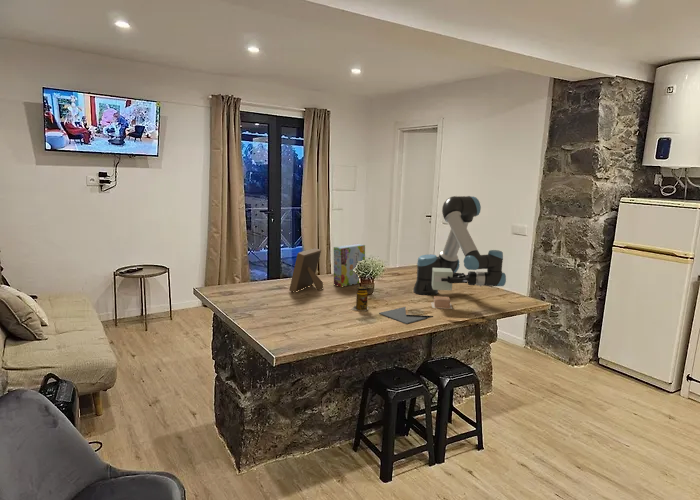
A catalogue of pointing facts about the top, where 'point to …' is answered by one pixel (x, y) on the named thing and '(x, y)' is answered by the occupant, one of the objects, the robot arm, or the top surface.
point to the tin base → (441, 302)
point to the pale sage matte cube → (441, 273)
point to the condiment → (361, 299)
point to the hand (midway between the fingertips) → (434, 276)
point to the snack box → (347, 263)
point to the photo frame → (306, 270)
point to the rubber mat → (403, 316)
